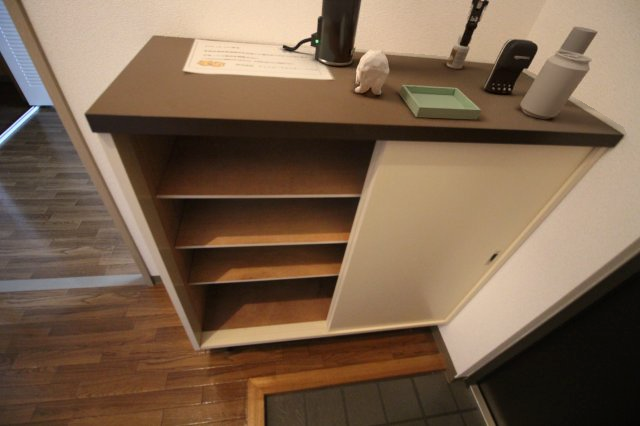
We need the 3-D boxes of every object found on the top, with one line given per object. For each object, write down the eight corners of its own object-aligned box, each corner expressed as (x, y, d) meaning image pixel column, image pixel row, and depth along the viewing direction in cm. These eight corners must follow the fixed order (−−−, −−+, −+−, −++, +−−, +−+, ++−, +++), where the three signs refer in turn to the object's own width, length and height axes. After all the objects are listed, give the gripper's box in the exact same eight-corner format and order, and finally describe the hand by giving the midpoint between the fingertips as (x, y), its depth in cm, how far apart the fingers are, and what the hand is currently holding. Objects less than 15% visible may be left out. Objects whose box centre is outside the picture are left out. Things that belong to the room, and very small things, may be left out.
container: (553, 105, 68) (603, 33, 58) (533, 101, 69) (579, 30, 58) (546, 97, 72) (591, 28, 61) (527, 94, 72) (569, 25, 61)
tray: (416, 117, 56) (419, 107, 55) (399, 94, 64) (401, 84, 63) (476, 119, 58) (481, 109, 57) (452, 96, 66) (456, 87, 64)
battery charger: (488, 94, 69) (514, 41, 61) (481, 88, 72) (506, 36, 64) (514, 96, 70) (544, 44, 62) (506, 90, 73) (534, 39, 65)
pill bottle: (445, 63, 85) (456, 33, 79) (459, 65, 85) (472, 35, 79) (447, 67, 82) (459, 37, 76) (462, 70, 81) (475, 39, 76)
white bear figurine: (362, 51, 54) (355, 41, 64) (355, 97, 60) (349, 81, 69) (395, 54, 55) (383, 44, 64) (384, 99, 60) (374, 83, 70)
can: (515, 102, 67) (549, 46, 59) (549, 110, 66) (589, 53, 57) (520, 115, 62) (558, 55, 53) (558, 123, 60) (602, 63, 52)
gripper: (478, -38, 73) (453, 34, 84) (476, -36, 63) (448, 45, 75) (510, -34, 71) (479, 39, 83) (512, -32, 62) (477, 51, 73)
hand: (464, 42), depth 79 cm, fingers open, 8 cm apart
